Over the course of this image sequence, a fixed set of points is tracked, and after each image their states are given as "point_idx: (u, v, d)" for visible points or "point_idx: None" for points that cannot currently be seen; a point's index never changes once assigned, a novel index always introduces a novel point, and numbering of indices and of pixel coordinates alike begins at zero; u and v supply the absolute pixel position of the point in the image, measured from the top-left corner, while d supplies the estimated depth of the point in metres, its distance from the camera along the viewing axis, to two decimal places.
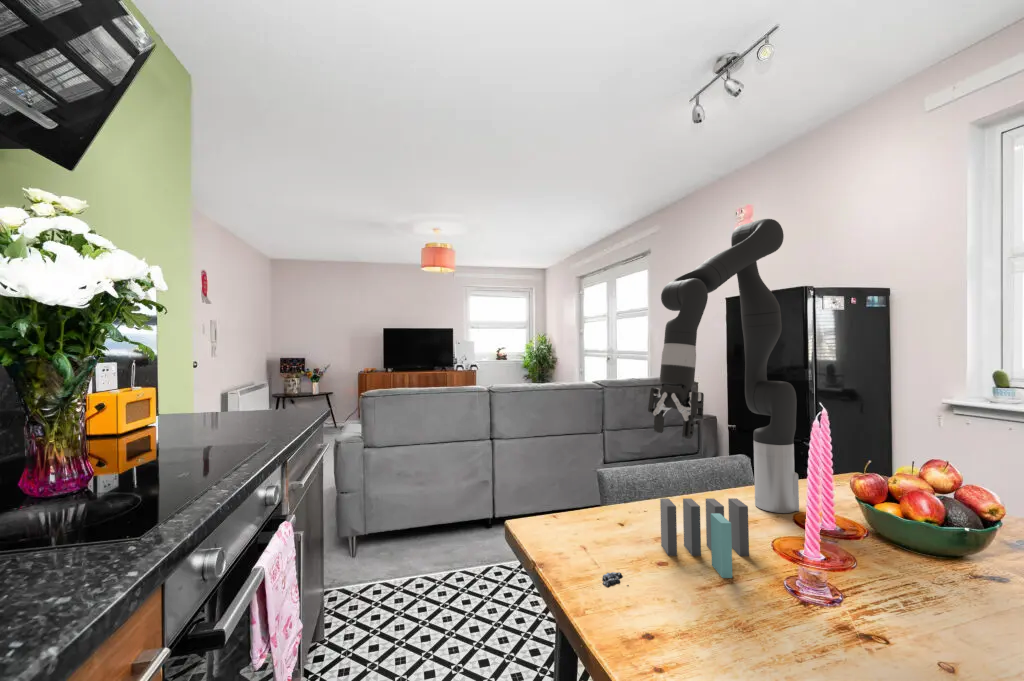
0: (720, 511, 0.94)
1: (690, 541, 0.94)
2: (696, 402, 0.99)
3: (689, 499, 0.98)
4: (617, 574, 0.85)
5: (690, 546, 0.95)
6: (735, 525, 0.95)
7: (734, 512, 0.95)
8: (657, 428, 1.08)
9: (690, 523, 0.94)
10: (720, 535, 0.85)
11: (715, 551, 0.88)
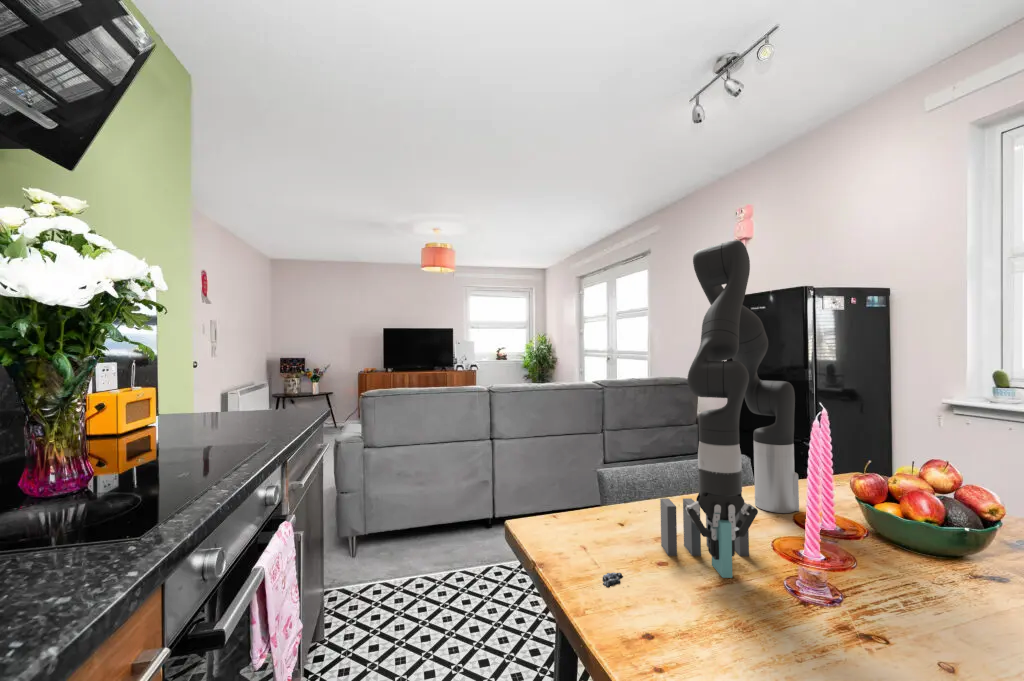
0: None
1: (690, 541, 0.94)
2: None
3: (689, 499, 0.98)
4: (617, 574, 0.85)
5: (690, 546, 0.95)
6: None
7: None
8: None
9: (690, 523, 0.94)
10: (720, 535, 0.85)
11: None
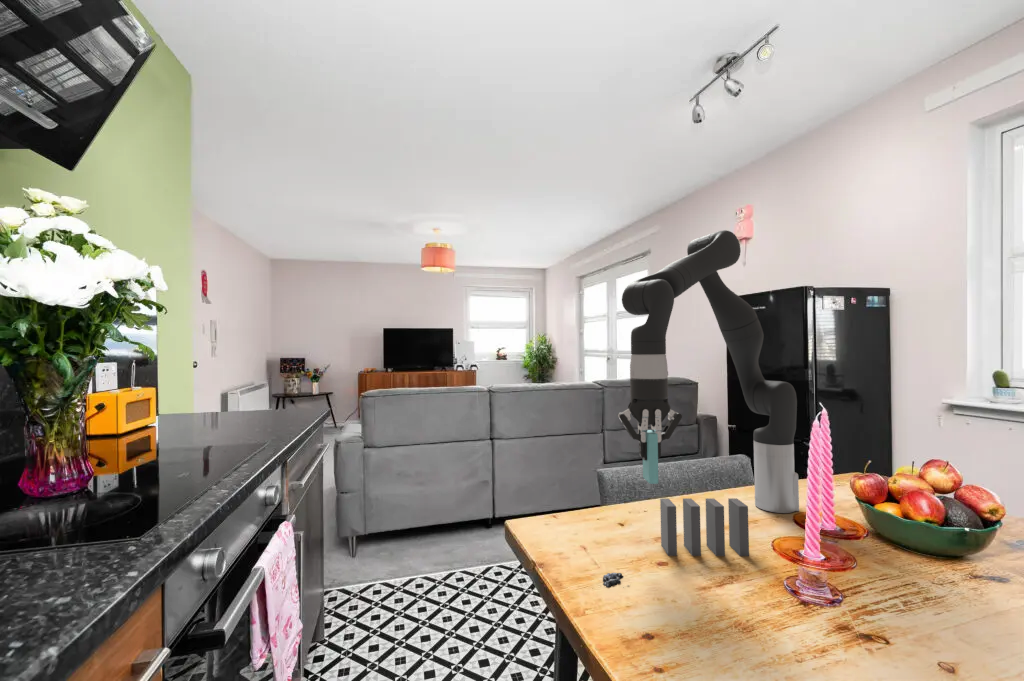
0: (720, 511, 0.93)
1: (690, 541, 0.94)
2: None
3: (689, 499, 0.98)
4: (617, 574, 0.85)
5: (690, 547, 0.95)
6: (735, 525, 0.95)
7: (734, 512, 0.95)
8: None
9: (690, 523, 0.94)
10: (648, 445, 0.94)
11: (645, 462, 0.96)
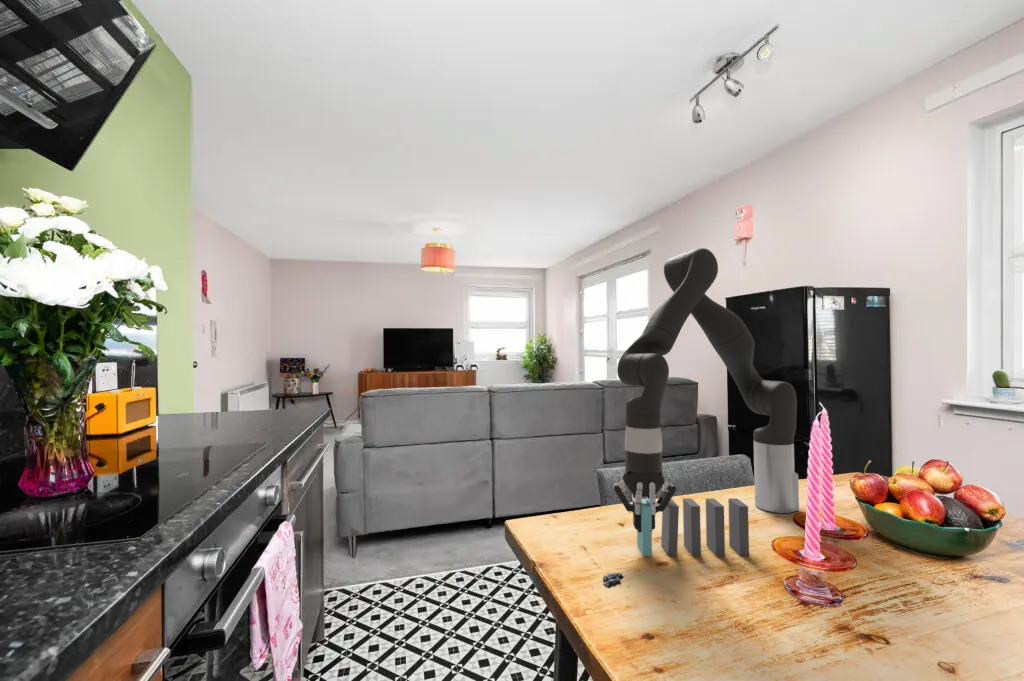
0: (720, 511, 0.93)
1: (690, 541, 0.94)
2: None
3: (689, 499, 0.98)
4: (618, 575, 0.85)
5: (690, 546, 0.95)
6: (735, 525, 0.95)
7: (734, 512, 0.95)
8: None
9: (690, 523, 0.94)
10: (642, 517, 0.95)
11: (639, 532, 0.97)
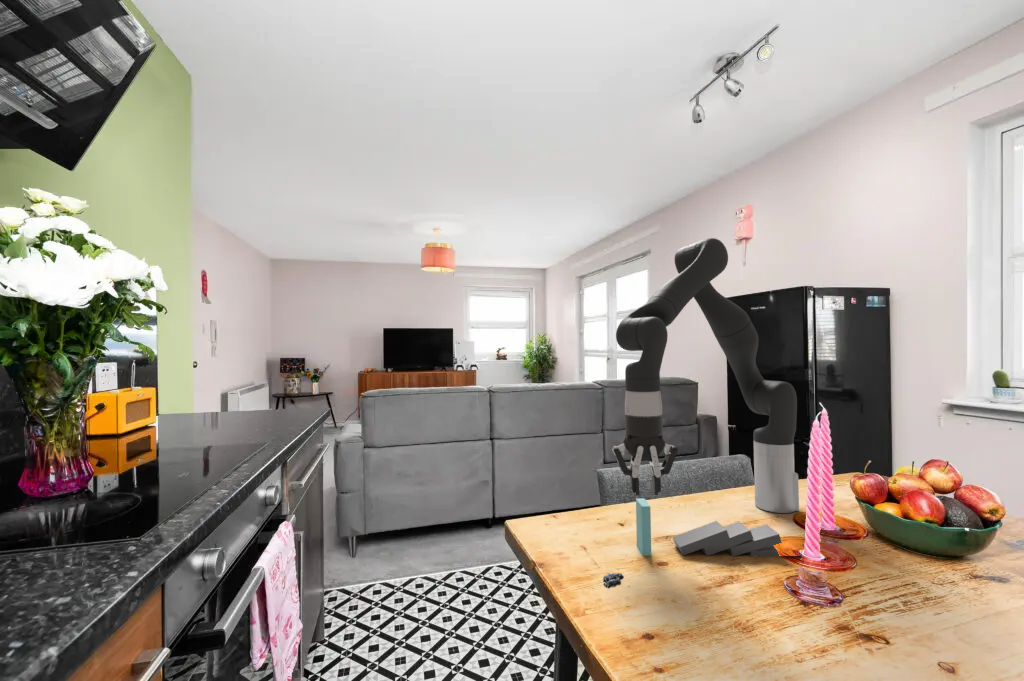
0: (775, 540, 0.93)
1: None
2: None
3: None
4: (618, 575, 0.85)
5: None
6: (773, 546, 0.95)
7: None
8: None
9: (731, 535, 0.94)
10: (641, 517, 0.95)
11: (638, 532, 0.97)
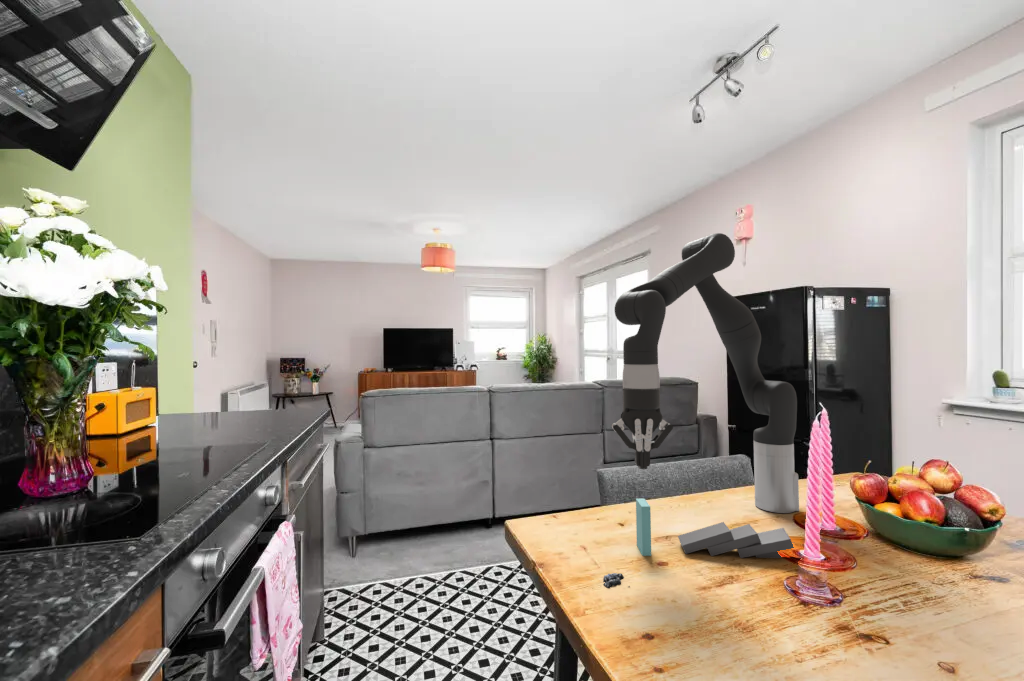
0: (787, 545, 0.90)
1: None
2: None
3: None
4: (618, 575, 0.85)
5: None
6: None
7: None
8: None
9: (737, 537, 0.93)
10: (641, 517, 0.95)
11: (638, 532, 0.97)
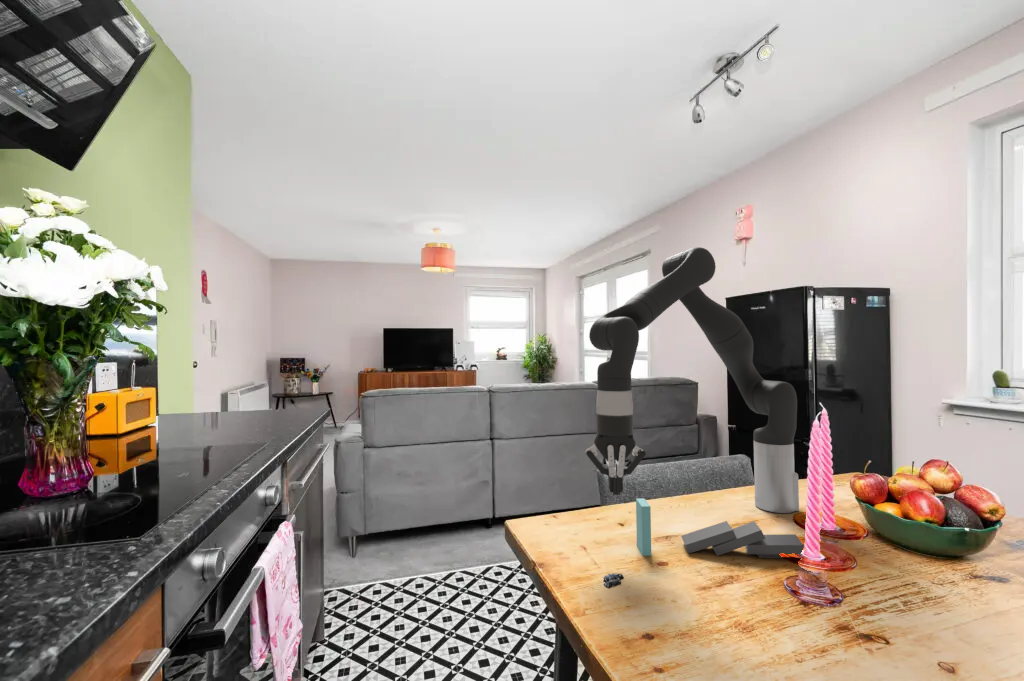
0: (798, 550, 0.89)
1: None
2: None
3: None
4: (618, 575, 0.85)
5: None
6: None
7: None
8: None
9: (742, 535, 0.93)
10: (641, 517, 0.95)
11: (638, 532, 0.97)
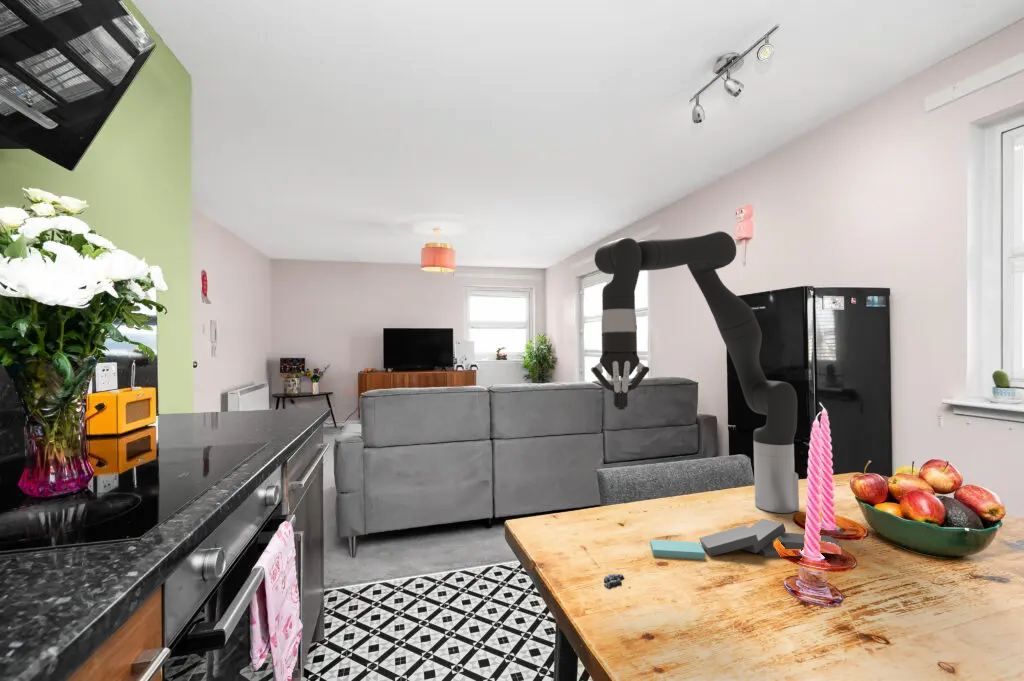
0: None
1: (757, 538, 0.95)
2: None
3: None
4: (619, 576, 0.85)
5: None
6: None
7: None
8: None
9: (770, 530, 0.96)
10: (691, 550, 0.93)
11: (668, 544, 0.96)
